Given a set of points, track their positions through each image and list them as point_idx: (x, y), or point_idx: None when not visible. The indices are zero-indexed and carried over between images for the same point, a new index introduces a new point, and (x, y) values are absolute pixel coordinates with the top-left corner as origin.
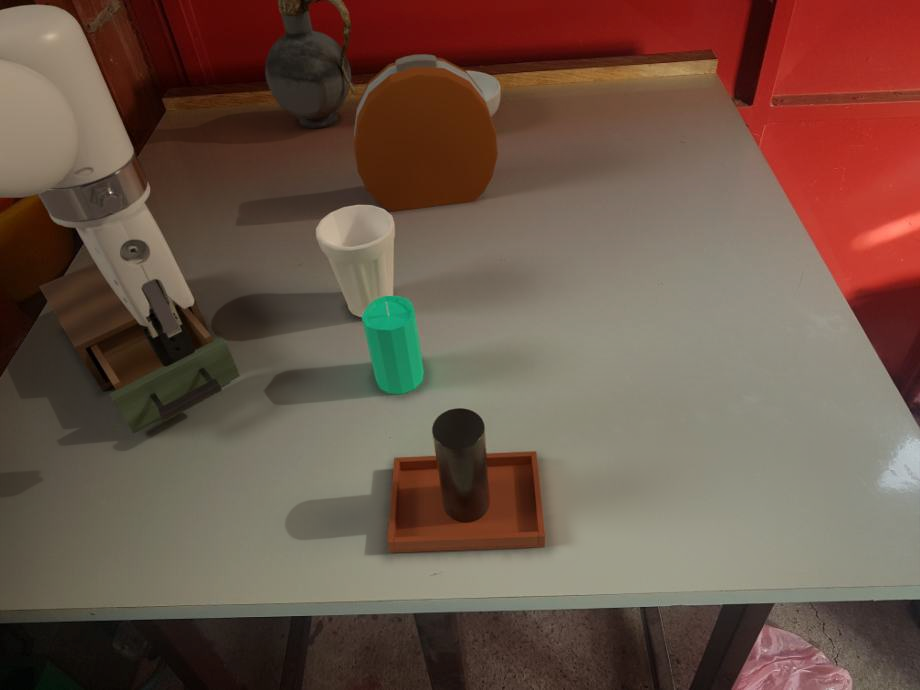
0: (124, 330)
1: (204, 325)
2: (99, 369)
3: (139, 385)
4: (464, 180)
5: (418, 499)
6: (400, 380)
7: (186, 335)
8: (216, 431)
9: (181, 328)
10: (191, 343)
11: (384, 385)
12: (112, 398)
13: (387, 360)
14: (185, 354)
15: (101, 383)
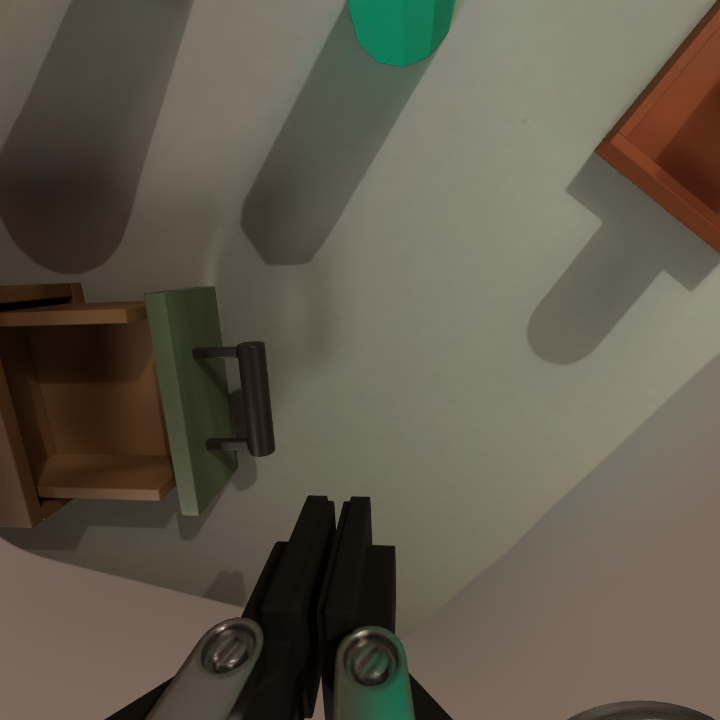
0: None
1: (56, 287)
2: None
3: (190, 470)
4: None
5: (691, 156)
6: (453, 5)
7: (362, 553)
8: (303, 366)
9: (356, 592)
10: (366, 519)
11: (418, 51)
12: (196, 515)
13: None
14: (370, 528)
15: None
